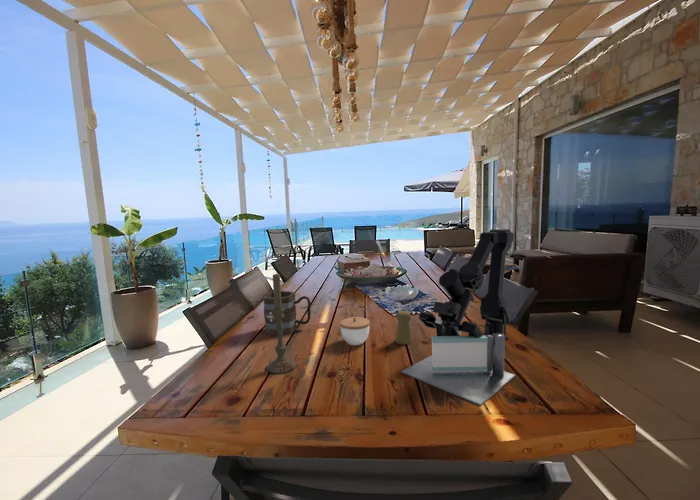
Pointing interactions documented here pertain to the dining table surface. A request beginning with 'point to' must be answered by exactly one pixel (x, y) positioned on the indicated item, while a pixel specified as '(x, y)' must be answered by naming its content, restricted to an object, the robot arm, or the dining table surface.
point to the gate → (462, 353)
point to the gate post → (467, 376)
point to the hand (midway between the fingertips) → (437, 350)
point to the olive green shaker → (403, 328)
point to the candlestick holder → (279, 333)
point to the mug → (289, 312)
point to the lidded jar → (355, 330)
